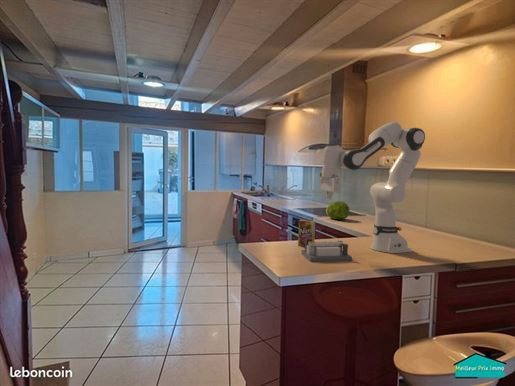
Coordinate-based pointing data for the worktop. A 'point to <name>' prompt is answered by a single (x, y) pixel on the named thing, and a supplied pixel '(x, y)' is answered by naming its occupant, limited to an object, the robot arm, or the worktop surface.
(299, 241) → the candy box
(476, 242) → the worktop surface
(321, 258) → the heatsink board
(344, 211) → the lettuce
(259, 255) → the worktop surface
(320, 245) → the strap
